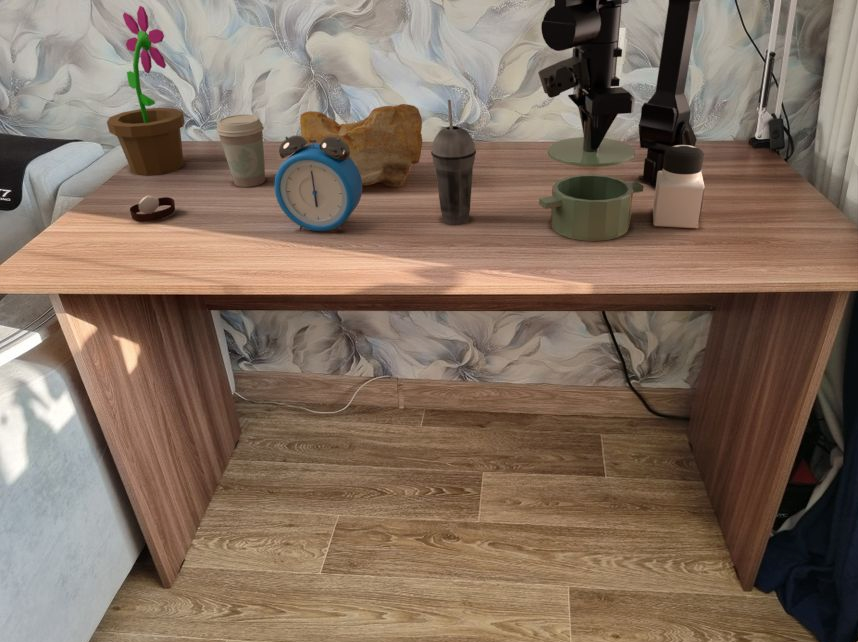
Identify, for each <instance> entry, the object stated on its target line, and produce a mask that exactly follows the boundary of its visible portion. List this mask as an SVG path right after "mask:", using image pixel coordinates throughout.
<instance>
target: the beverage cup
mask: <svg viewBox="0 0 858 642" xmlns="http://www.w3.org/2000/svg"><path fill="white" fill-rule="evenodd" d="M447 110H448V123H449V126H445V127H444V128H442V129H441V130H439V132H437V134H436V135H435V137H434V139H433V142H432V145H431V152H430V155H431V157H432V163H433V166H434V169H435V176H436V184H437V192H438V193H437V194H438V200H439V207H440V208H439V209H440V213H441V217H442V219H441V220H442V222H443V223H444V224H447V225H453V226H455V225H463V224H465V223H468V222H469V220H470V212H471V203H472V201H471V200H472V188H473V187H472V186H473V172H474V165H475V159H476V154H477V150H476V146H475V141H474V139H473V137H472V136H471V134H470V133H469V132H468V131H467V130H466V129H465V128H463V127H461V126H458V125H453V124H454V123H453V111H452V99H447Z"/></svg>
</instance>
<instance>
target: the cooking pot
mask: <svg viewBox="0 0 858 642" xmlns="http://www.w3.org/2000/svg"><path fill="white" fill-rule="evenodd" d="M551 189H552V190H551V196H545V197H539V198H538V204H539V205H540V206H541V207H542V208H544V209H545V210H549V209H551V211H550V222H551V223H550V224H551V226H550V227H551V228H552V230H553V231H554V232H555V233H557V234H559V235H560V236H563V237H565V238H569V239H572V240H577V241H585V242H588V241H589V242H601V241H610V240H613V239H618V238H620V237H622V236H623V235H625V234H626V233H627V232H628V231H629V228H630V224H631V215H632V206H633V205H632V204H633V198H634V197H633V196H634V194H635V193H641V192H644V185H643V184H642V183H640V182H638V181H635V180H634V181H628V182H627V181H625V180H623V179H622V178H618V177H614V176H611V175H604V174H602V175H601V174H577V175H570V176H569V175H568V176H565V177H563V178H560V179H558V180H556V181H555V182H554V184H553V185H552V187H551Z"/></svg>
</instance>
